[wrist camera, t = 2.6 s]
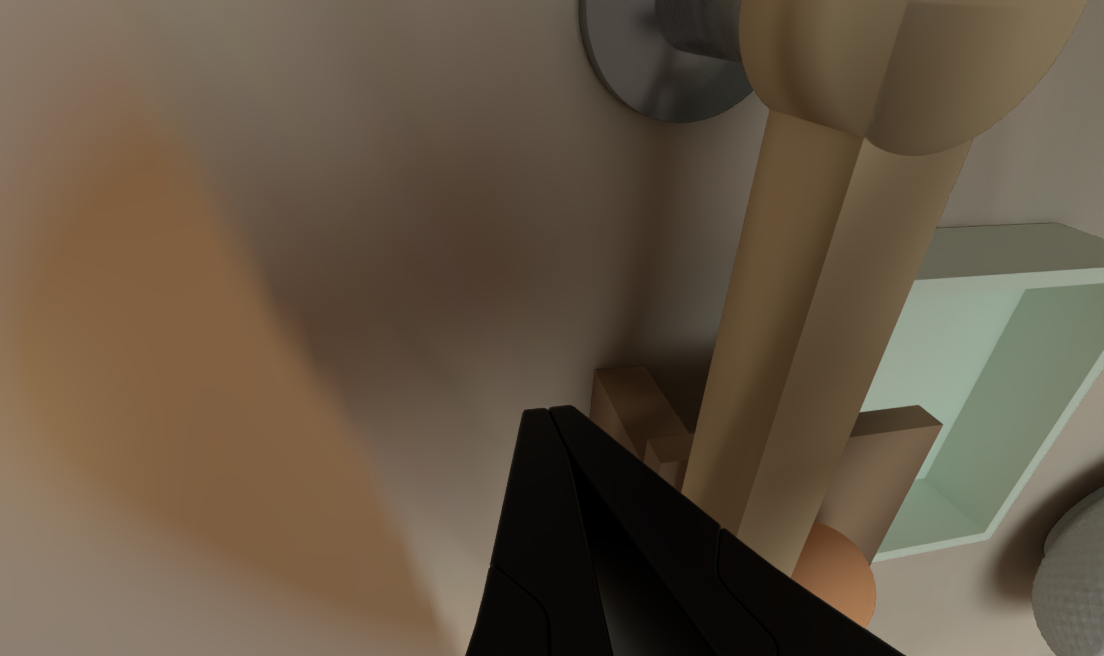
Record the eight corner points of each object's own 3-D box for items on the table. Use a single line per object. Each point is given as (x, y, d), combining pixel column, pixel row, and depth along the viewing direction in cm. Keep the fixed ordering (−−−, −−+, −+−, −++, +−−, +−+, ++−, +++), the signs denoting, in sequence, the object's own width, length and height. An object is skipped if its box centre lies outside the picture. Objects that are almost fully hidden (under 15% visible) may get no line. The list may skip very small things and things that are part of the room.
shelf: (821, 328, 22) (943, 424, 17) (772, 472, 26) (859, 585, 21) (597, 347, 20) (660, 463, 15) (581, 501, 24) (627, 632, 19)
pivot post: (812, -129, 14) (1062, -205, 9) (757, 118, 17) (918, 173, 12) (588, -156, 13) (720, -264, 7) (571, 116, 16) (657, 177, 10)
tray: (1057, 223, 22) (1173, 262, 19) (922, 477, 29) (988, 539, 26) (767, 235, 19) (843, 285, 16) (695, 514, 27) (737, 589, 23)
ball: (839, 489, 18) (924, 586, 15) (808, 559, 20) (879, 659, 17) (740, 504, 17) (811, 610, 14) (718, 576, 19) (776, 684, 16)
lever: (989, -132, 9) (1167, -172, 7) (731, 610, 19) (771, 685, 17) (772, -162, 8) (898, -216, 6) (622, 632, 18) (650, 715, 16)
